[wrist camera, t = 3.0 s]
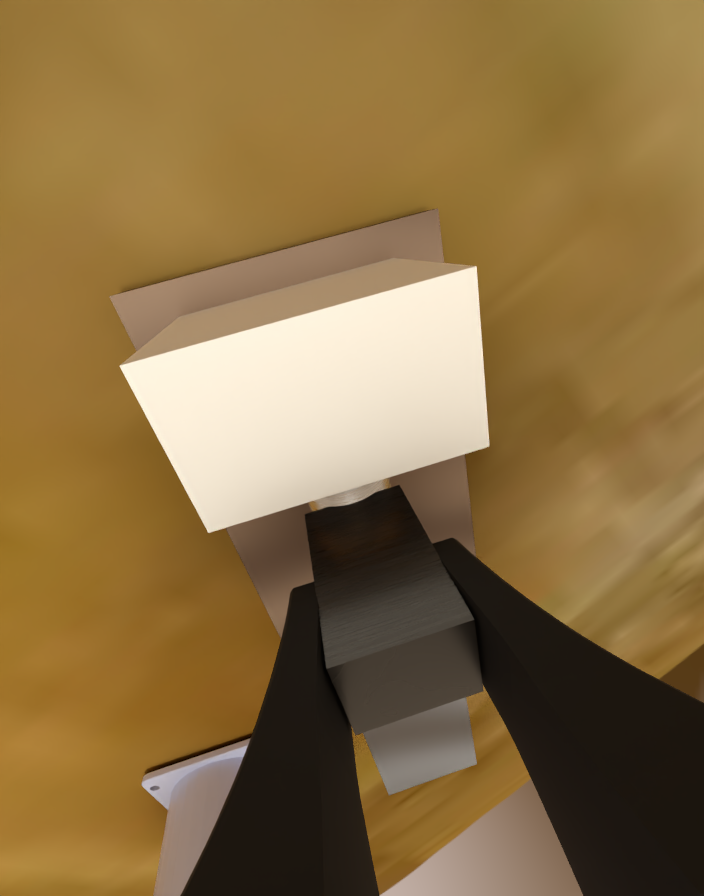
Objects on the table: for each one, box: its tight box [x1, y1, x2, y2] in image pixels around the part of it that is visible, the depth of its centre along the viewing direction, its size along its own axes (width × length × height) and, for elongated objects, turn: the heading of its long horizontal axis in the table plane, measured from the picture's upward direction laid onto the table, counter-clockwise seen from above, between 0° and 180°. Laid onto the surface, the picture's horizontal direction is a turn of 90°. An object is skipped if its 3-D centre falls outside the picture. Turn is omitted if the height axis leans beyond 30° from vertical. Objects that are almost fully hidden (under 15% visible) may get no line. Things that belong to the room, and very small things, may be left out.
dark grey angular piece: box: [305, 478, 483, 735], centre depth 13 cm, size 14×3×8 cm, turn 13°
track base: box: [109, 209, 477, 795], centre depth 16 cm, size 24×10×5 cm, turn 13°
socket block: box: [120, 258, 489, 533], centre depth 11 cm, size 4×7×6 cm, turn 103°
